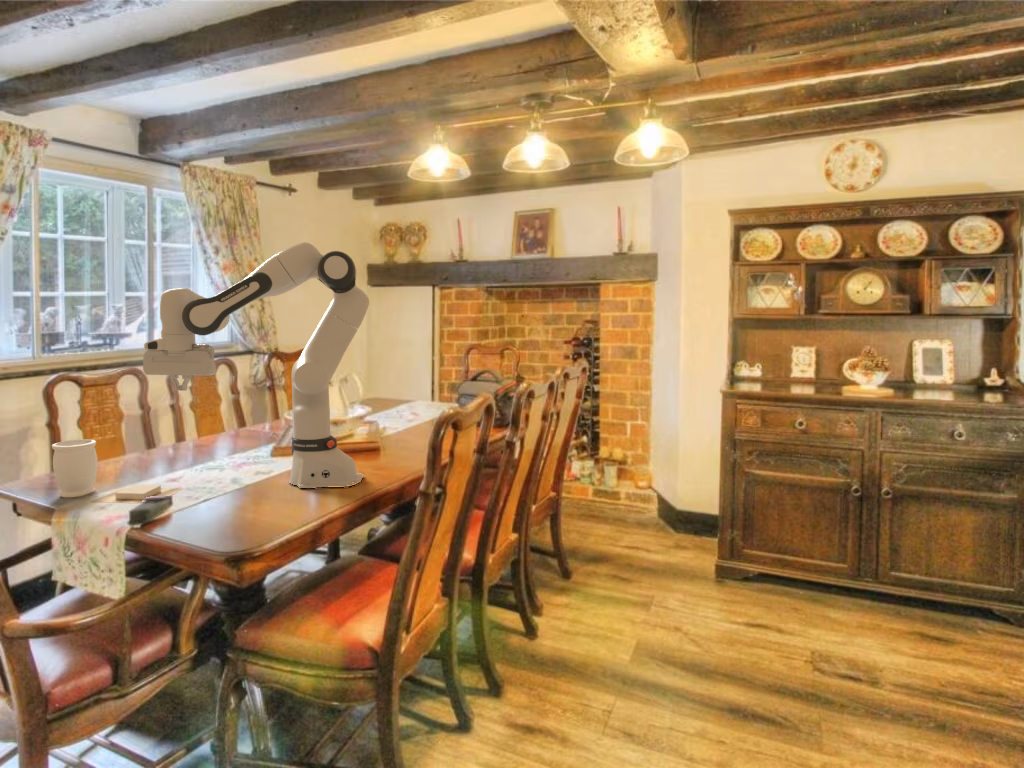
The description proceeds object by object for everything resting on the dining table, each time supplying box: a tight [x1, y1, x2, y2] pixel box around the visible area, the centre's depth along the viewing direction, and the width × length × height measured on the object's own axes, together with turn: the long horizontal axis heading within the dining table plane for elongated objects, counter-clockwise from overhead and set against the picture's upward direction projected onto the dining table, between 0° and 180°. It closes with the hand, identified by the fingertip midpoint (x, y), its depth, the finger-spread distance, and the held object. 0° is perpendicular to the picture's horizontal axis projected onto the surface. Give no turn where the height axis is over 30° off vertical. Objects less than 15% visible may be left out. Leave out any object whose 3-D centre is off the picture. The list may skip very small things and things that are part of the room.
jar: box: [51, 438, 99, 499], centre depth 178 cm, size 11×10×15 cm
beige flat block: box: [115, 484, 162, 499], centre depth 176 cm, size 2×8×8 cm
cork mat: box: [90, 487, 183, 504], centre depth 176 cm, size 18×14×1 cm
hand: (181, 390), depth 185 cm, fingers closed
